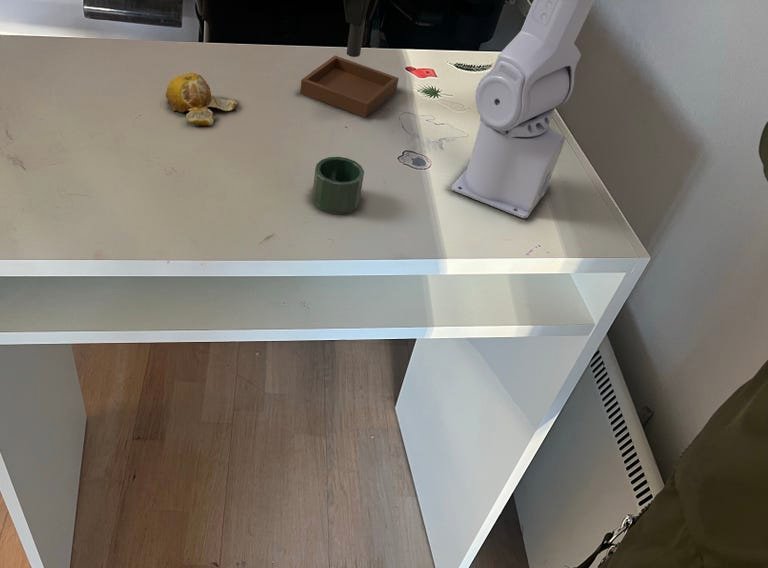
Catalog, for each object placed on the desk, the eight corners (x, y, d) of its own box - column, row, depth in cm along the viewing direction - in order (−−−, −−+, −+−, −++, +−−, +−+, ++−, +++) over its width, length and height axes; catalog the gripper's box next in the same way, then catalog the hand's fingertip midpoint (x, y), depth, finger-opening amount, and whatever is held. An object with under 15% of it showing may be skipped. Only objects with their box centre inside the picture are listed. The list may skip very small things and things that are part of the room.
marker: (363, 53, 99) (372, -10, 93) (356, 58, 98) (365, -5, 92) (350, 49, 99) (358, -14, 94) (343, 54, 98) (351, -9, 92)
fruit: (201, 131, 94) (200, 104, 91) (150, 108, 97) (149, 81, 94) (240, 106, 99) (241, 79, 96) (191, 85, 102) (191, 59, 99)
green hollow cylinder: (367, 197, 87) (372, 168, 84) (344, 220, 84) (349, 190, 81) (327, 180, 89) (330, 151, 86) (303, 202, 86) (306, 172, 83)
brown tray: (396, 91, 105) (398, 77, 103) (365, 118, 99) (367, 104, 98) (333, 68, 108) (334, 55, 106) (299, 93, 102) (301, 79, 101)
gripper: (373, -122, 91) (358, -7, 101) (312, -94, 82) (302, 30, 92) (426, -109, 89) (404, 8, 99) (369, -78, 80) (352, 47, 90)
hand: (358, 20), depth 95 cm, fingers closed on marker, 2 cm apart
